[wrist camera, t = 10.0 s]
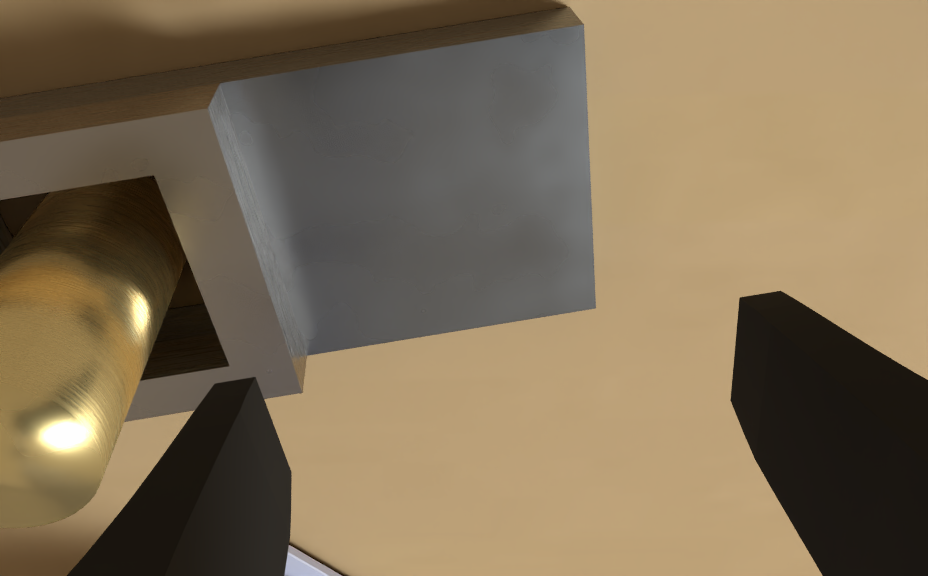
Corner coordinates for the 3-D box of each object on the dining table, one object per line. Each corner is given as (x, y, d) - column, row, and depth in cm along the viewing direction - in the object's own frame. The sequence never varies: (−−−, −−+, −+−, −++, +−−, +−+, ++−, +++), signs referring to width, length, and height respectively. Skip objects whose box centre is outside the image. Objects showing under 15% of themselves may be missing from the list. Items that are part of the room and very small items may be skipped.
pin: (133, 310, 21) (25, 554, 15) (13, 228, 20) (-172, 461, 13) (220, 232, 20) (145, 456, 14) (101, 137, 18) (-53, 341, 12)
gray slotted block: (569, 6, 18) (600, 44, 15) (583, 277, 22) (609, 342, 20) (-464, 173, 18) (-602, 239, 15) (-249, 413, 22) (-329, 496, 19)
